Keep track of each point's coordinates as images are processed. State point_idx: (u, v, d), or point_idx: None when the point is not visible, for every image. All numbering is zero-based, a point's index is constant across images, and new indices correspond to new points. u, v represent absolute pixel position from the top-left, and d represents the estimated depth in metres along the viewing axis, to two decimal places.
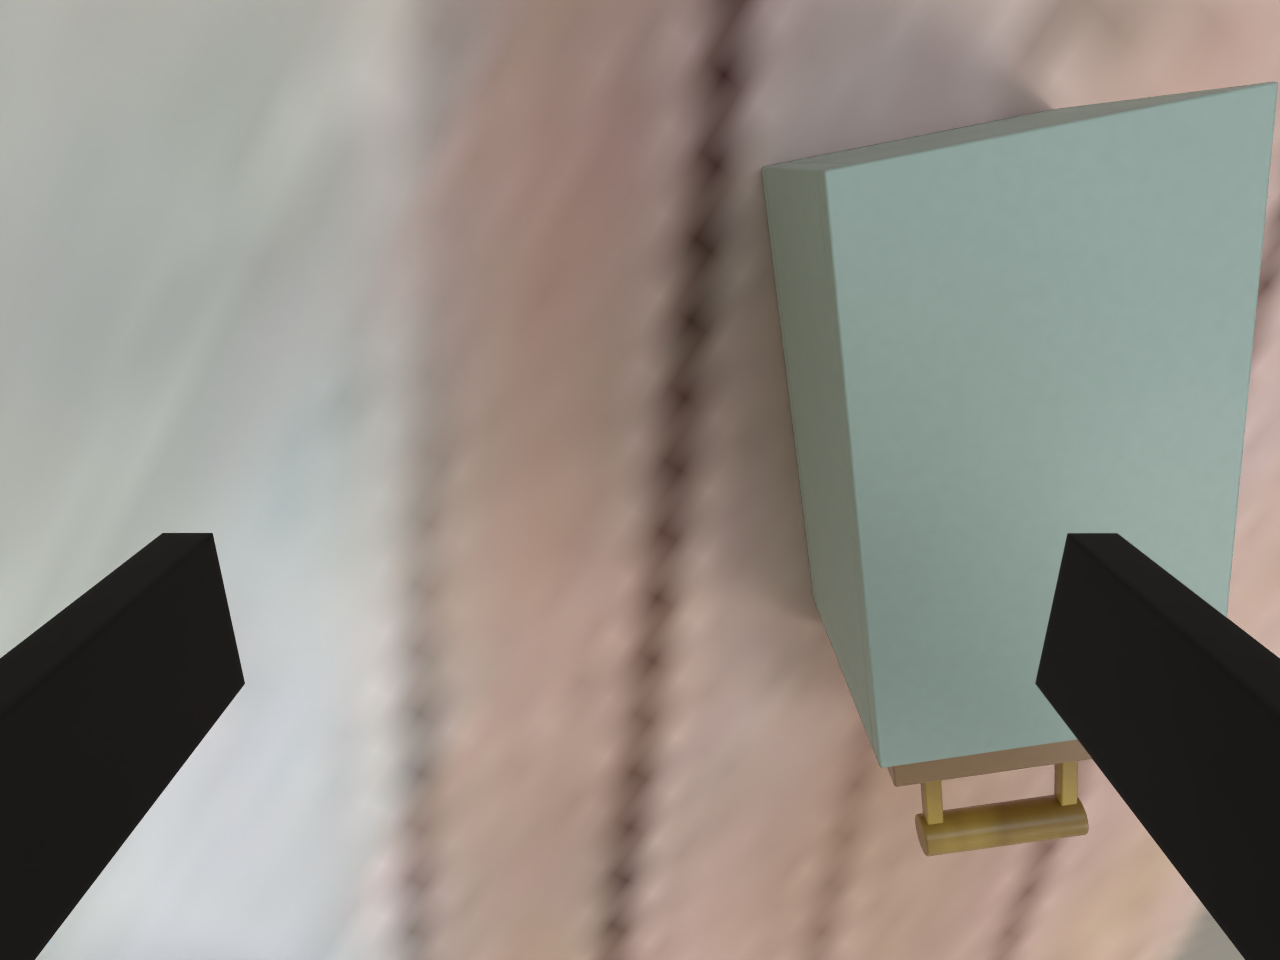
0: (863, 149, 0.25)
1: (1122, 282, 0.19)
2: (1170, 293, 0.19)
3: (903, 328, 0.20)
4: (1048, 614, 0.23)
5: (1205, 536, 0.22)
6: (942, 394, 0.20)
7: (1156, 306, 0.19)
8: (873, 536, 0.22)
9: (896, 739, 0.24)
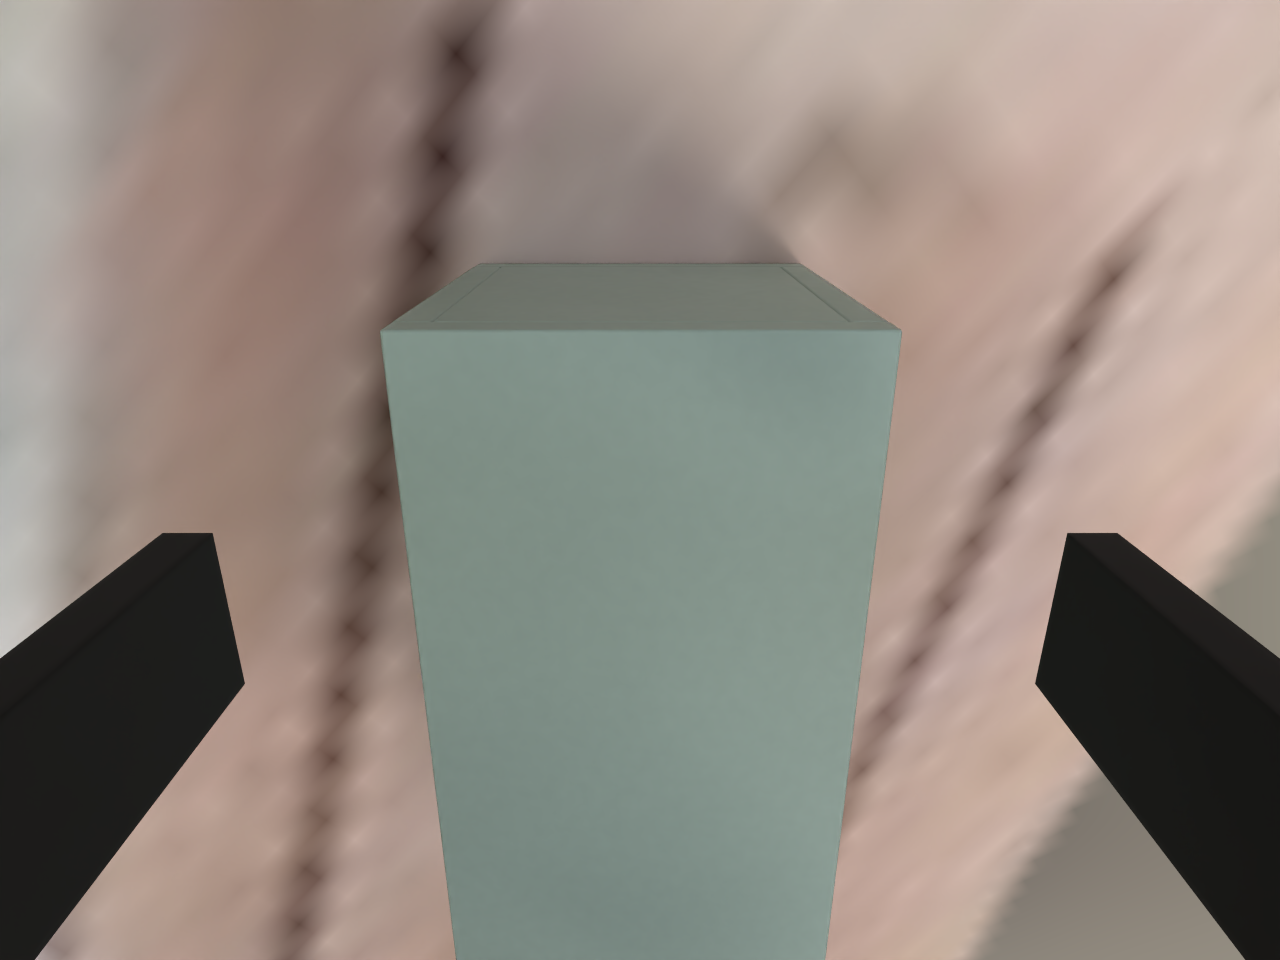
0: (566, 274, 0.23)
1: (725, 511, 0.17)
2: (779, 532, 0.17)
3: (475, 518, 0.17)
4: (642, 839, 0.20)
5: (814, 786, 0.20)
6: (522, 595, 0.18)
7: (763, 543, 0.17)
8: (444, 732, 0.19)
9: (473, 941, 0.21)
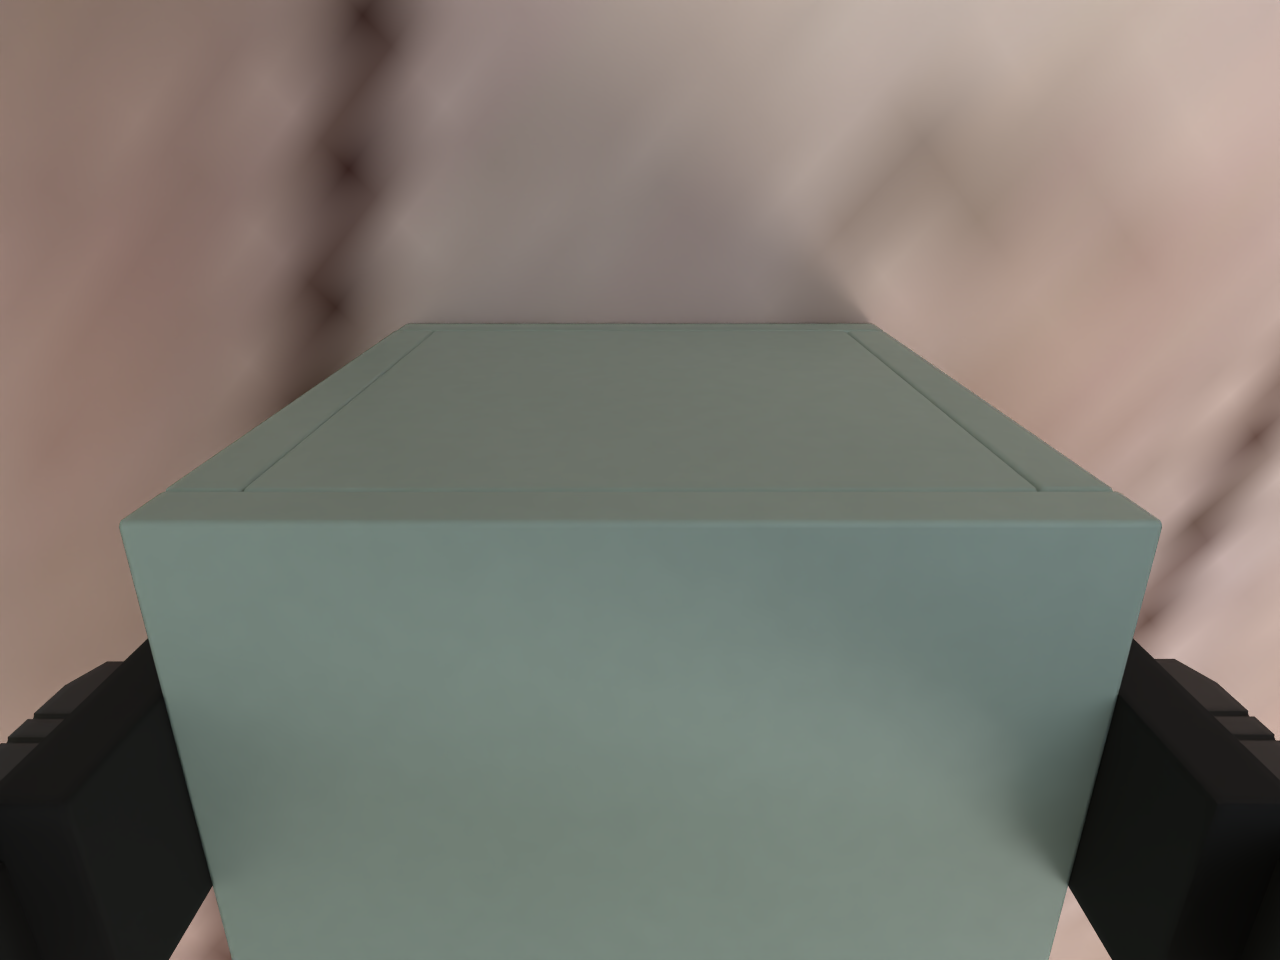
0: (527, 347, 0.15)
1: (797, 829, 0.09)
2: (894, 861, 0.09)
3: (334, 840, 0.09)
4: None
5: None
6: (428, 956, 0.10)
7: (864, 879, 0.09)
8: None
9: None
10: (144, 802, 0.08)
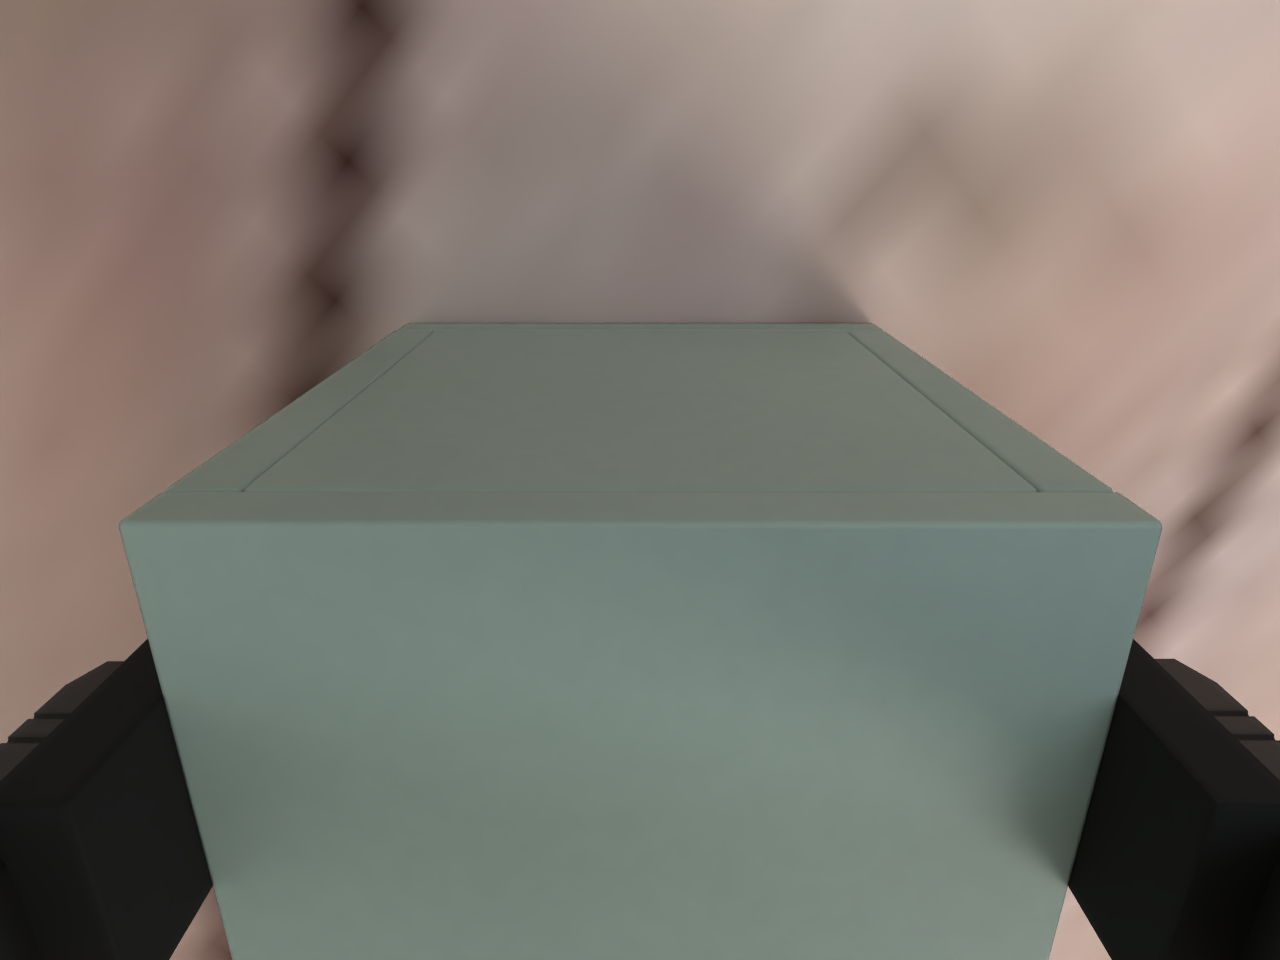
0: (527, 346, 0.15)
1: (797, 830, 0.09)
2: (894, 862, 0.09)
3: (333, 840, 0.09)
4: None
5: None
6: (428, 957, 0.10)
7: (864, 879, 0.09)
8: None
9: None
10: (145, 802, 0.08)
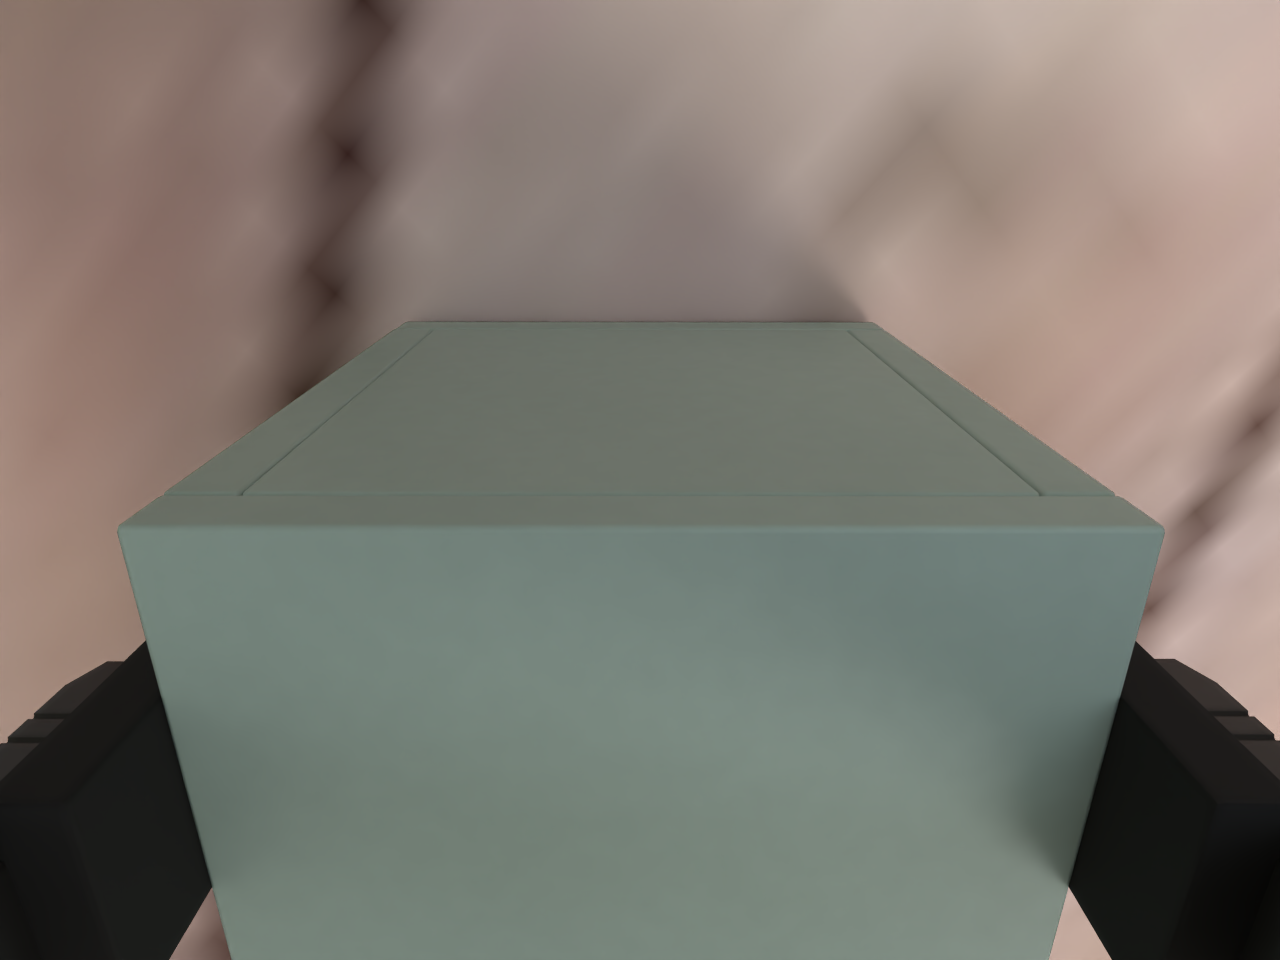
0: (527, 346, 0.15)
1: (798, 832, 0.09)
2: (894, 865, 0.09)
3: (334, 844, 0.09)
4: None
5: None
6: (428, 958, 0.10)
7: (864, 882, 0.09)
8: None
9: None
10: (144, 802, 0.08)
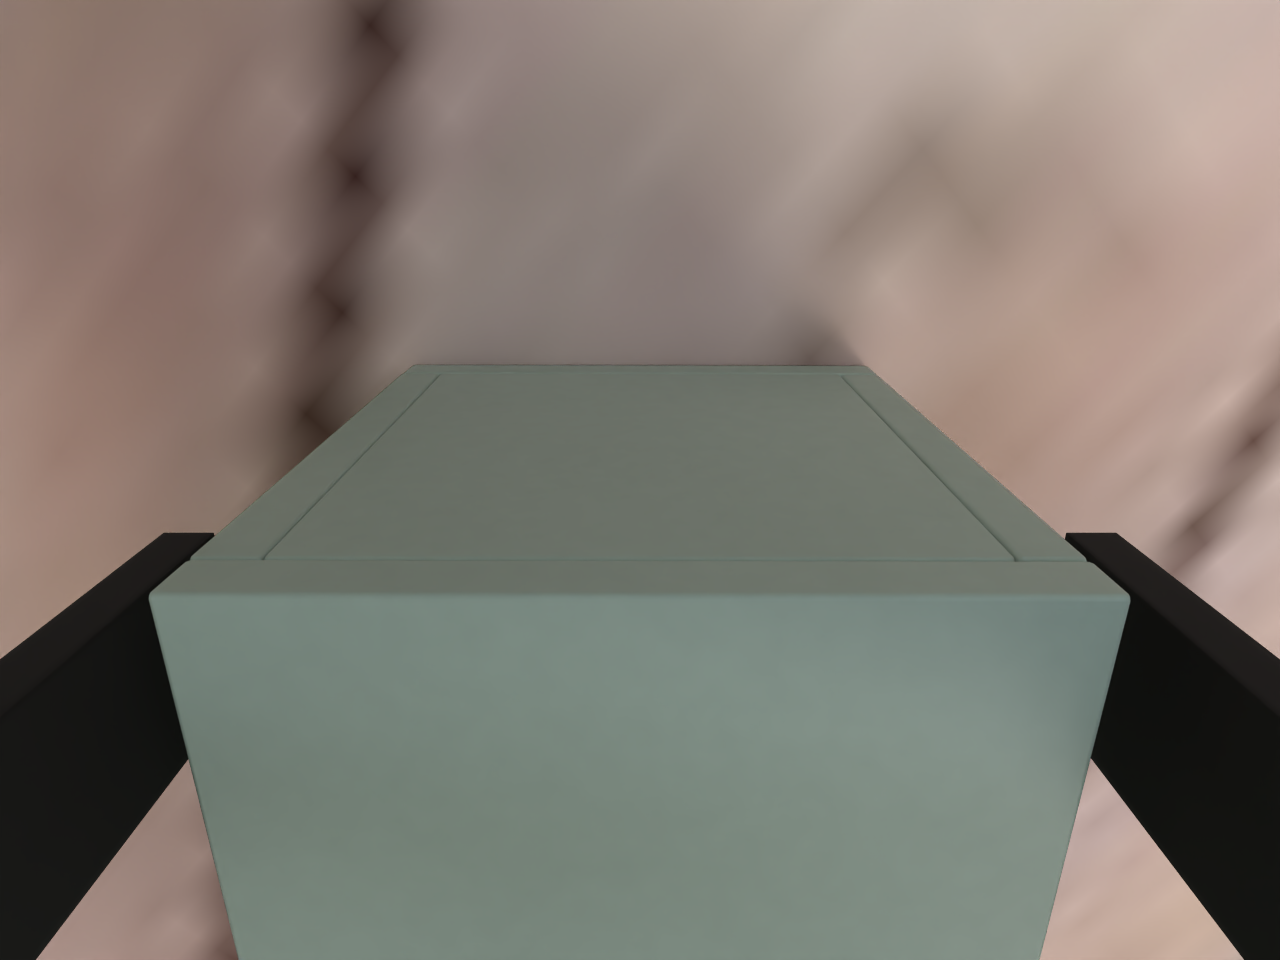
0: (530, 393, 0.15)
1: (787, 878, 0.10)
2: (880, 908, 0.10)
3: (347, 888, 0.10)
4: None
5: None
6: None
7: (852, 925, 0.10)
8: None
9: None
10: None
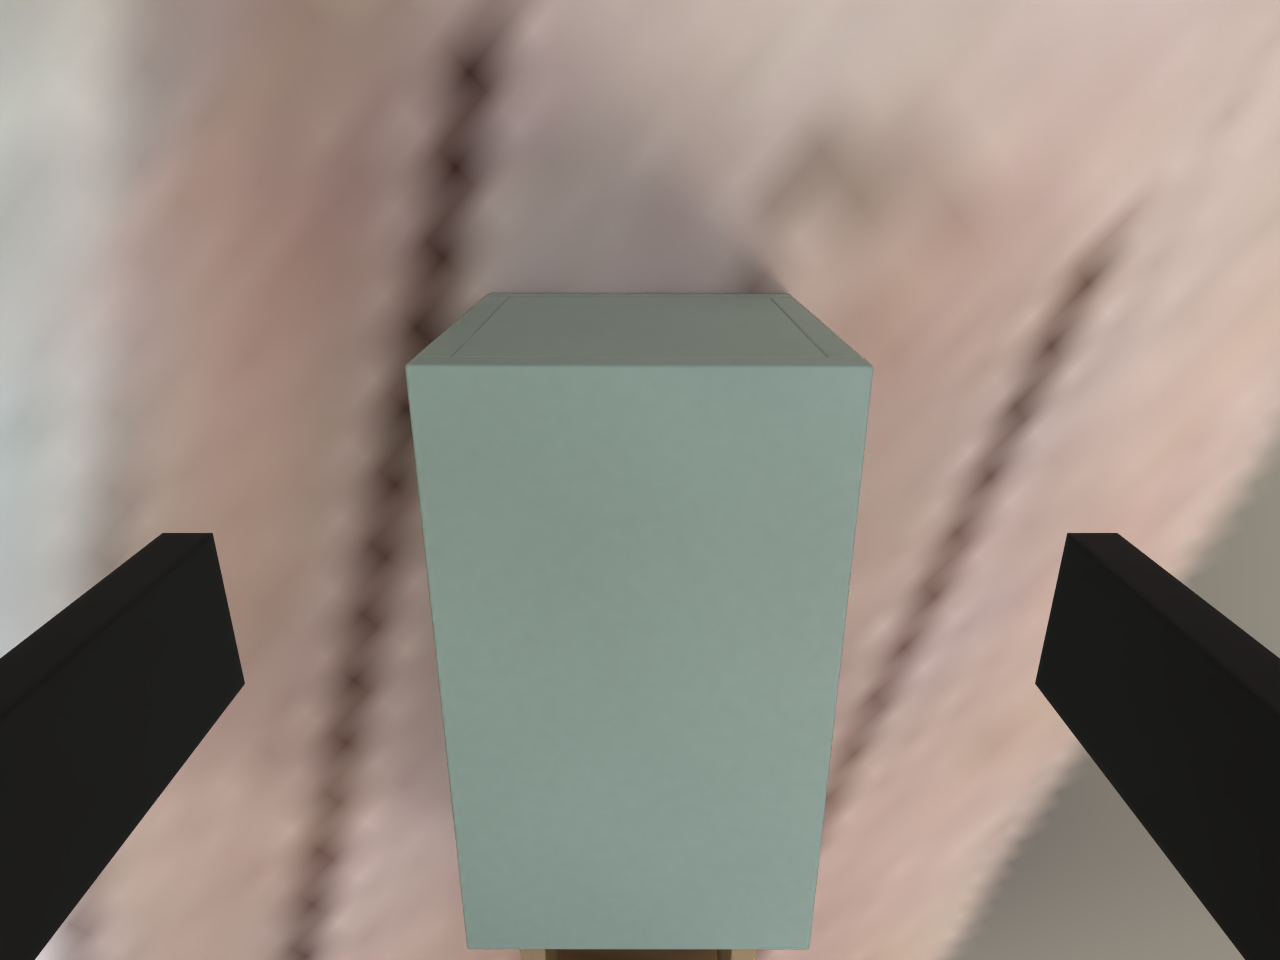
0: (570, 304, 0.24)
1: (715, 527, 0.19)
2: (764, 546, 0.19)
3: (488, 533, 0.19)
4: (639, 828, 0.22)
5: (798, 779, 0.21)
6: (531, 603, 0.19)
7: (749, 556, 0.19)
8: (458, 728, 0.21)
9: (483, 924, 0.23)
10: None
